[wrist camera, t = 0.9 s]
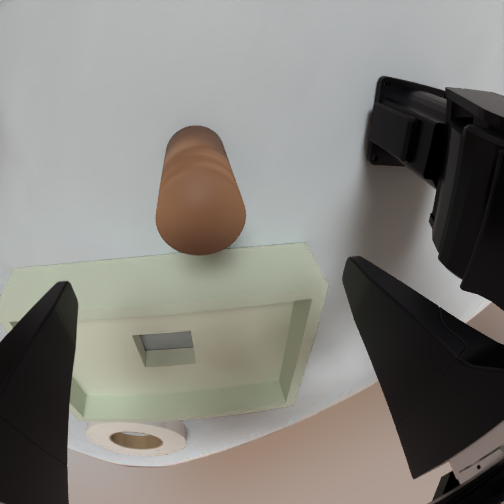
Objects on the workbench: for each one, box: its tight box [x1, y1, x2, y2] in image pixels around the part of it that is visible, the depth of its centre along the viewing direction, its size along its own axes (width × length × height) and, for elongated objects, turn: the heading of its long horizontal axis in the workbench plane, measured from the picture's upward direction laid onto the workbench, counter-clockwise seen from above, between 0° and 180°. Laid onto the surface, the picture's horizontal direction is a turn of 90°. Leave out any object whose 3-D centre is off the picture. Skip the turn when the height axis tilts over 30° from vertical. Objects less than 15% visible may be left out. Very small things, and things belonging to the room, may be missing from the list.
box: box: [0, 243, 328, 422], centre depth 26 cm, size 24×18×5 cm
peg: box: [156, 126, 246, 256], centre depth 16 cm, size 4×4×8 cm
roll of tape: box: [86, 421, 186, 456], centre depth 39 cm, size 16×15×3 cm
